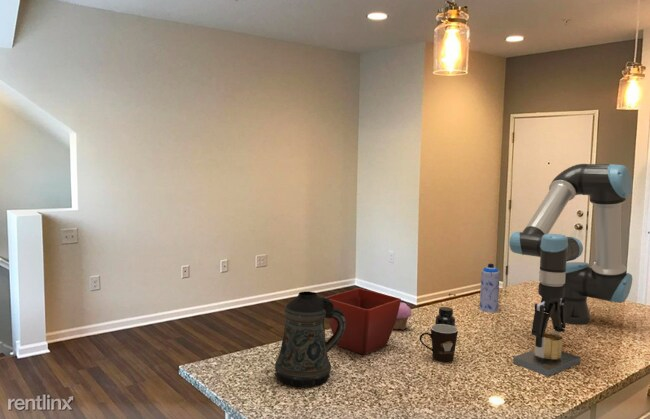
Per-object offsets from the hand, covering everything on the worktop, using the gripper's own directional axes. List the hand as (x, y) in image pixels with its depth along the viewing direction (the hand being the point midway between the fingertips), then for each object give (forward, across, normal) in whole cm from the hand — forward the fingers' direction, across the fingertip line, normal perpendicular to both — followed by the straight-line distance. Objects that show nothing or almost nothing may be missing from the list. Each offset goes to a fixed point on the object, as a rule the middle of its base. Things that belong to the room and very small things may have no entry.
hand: (547, 353), depth 162 cm
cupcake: (+3, +17, -50) cm, 53 cm away
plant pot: (+3, +40, -44) cm, 60 cm away
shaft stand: (+3, 0, 0) cm, 3 cm away
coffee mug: (+3, +26, -22) cm, 34 cm away
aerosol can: (+3, -33, -47) cm, 57 cm away
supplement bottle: (+3, +13, -31) cm, 34 cm away
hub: (0, 0, 0) cm, 0 cm away
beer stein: (+3, +69, -34) cm, 77 cm away
